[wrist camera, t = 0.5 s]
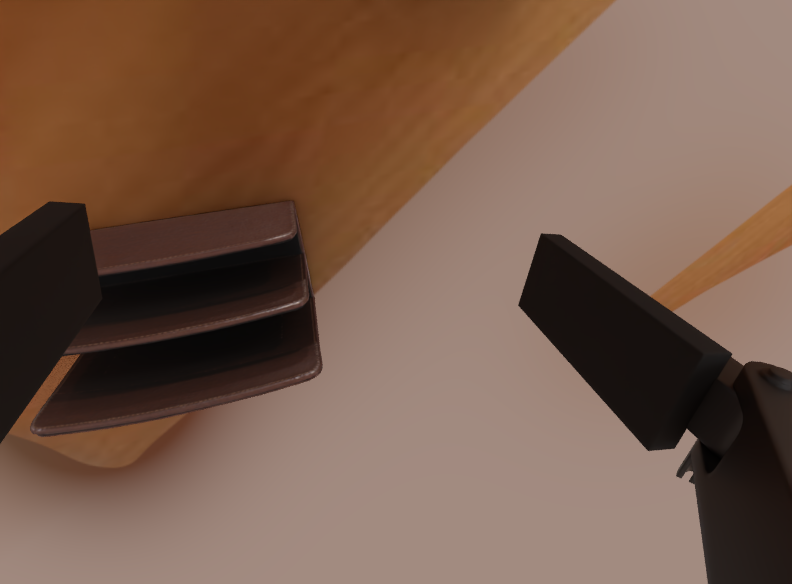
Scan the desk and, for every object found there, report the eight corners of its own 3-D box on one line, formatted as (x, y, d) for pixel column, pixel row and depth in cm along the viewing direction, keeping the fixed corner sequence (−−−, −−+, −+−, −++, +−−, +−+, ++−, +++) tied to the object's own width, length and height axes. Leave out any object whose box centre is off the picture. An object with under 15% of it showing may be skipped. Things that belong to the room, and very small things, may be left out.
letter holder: (314, 295, 43) (326, 390, 31) (98, 335, 41) (21, 457, 28) (294, 197, 38) (299, 266, 26) (46, 234, 36) (-75, 330, 23)
